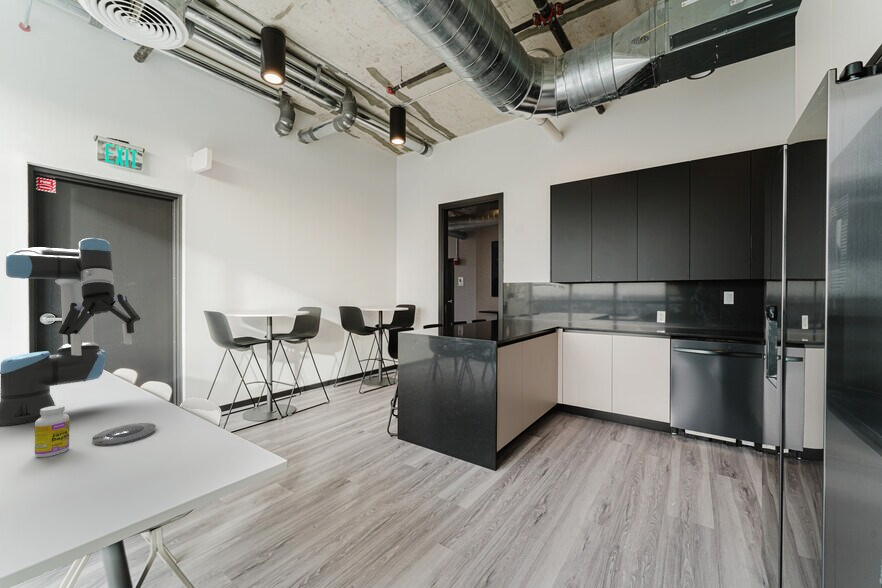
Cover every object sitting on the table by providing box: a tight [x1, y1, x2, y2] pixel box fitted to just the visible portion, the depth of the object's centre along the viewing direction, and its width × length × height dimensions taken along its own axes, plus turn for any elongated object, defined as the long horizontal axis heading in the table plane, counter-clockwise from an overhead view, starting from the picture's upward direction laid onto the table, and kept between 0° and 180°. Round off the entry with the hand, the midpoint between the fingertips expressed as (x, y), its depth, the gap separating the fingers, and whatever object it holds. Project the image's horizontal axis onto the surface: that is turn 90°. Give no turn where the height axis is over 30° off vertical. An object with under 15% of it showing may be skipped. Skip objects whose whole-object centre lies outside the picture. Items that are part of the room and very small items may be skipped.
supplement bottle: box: [34, 404, 70, 458], centre depth 100 cm, size 7×7×13 cm
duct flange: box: [91, 422, 157, 447], centre depth 112 cm, size 15×15×1 cm
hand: (102, 349), depth 109 cm, fingers open, 13 cm apart
